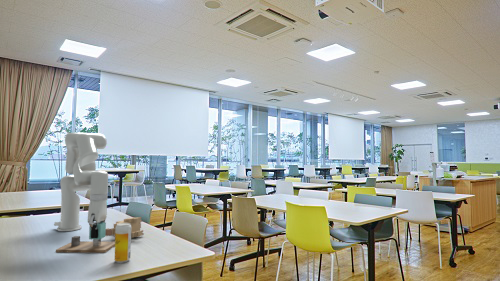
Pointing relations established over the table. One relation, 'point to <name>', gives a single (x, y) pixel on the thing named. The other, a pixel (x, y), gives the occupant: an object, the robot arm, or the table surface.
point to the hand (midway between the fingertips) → (97, 236)
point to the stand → (85, 246)
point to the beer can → (122, 242)
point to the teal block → (99, 231)
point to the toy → (135, 227)
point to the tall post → (96, 242)
